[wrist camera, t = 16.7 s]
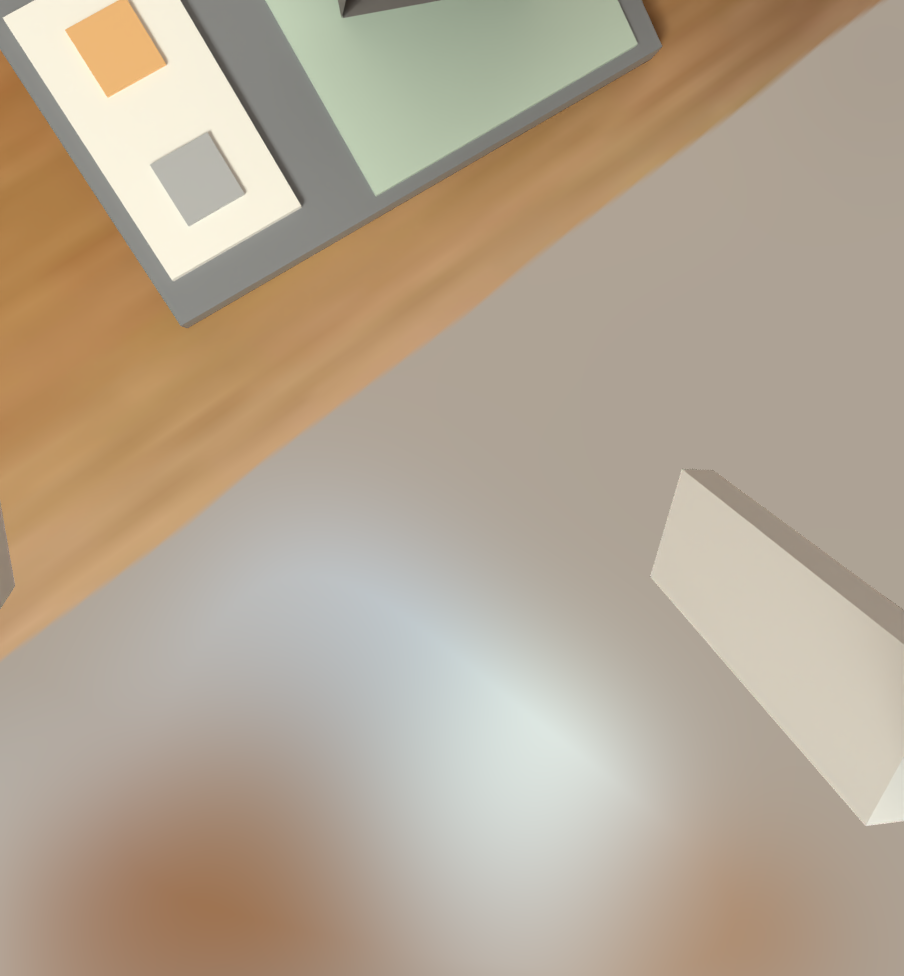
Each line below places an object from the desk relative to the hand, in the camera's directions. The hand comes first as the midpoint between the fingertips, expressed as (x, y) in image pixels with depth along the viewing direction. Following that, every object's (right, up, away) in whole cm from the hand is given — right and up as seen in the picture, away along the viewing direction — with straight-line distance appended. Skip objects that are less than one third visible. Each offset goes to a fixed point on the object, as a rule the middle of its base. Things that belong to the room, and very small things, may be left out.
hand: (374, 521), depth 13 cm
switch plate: (-3, +18, +13) cm, 22 cm away
